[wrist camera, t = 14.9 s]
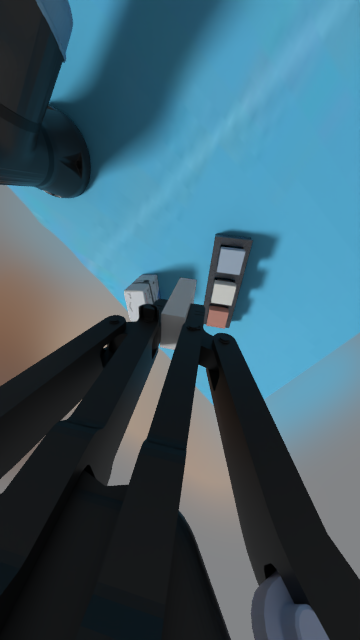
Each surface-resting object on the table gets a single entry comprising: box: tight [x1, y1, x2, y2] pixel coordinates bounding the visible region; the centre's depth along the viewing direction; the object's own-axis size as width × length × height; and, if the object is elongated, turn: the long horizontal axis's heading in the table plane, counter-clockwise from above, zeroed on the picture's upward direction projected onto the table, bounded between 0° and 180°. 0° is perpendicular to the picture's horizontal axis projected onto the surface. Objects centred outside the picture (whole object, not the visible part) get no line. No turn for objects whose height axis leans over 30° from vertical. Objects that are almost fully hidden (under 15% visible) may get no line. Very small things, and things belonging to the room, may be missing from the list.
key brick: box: [207, 304, 229, 328], centre depth 50 cm, size 5×5×5 cm
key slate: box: [217, 247, 245, 275], centre depth 41 cm, size 5×5×5 cm
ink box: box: [124, 275, 160, 322], centre depth 49 cm, size 8×5×12 cm, turn 4°
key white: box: [211, 279, 236, 306], centre depth 45 cm, size 5×5×5 cm
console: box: [204, 234, 253, 328], centre depth 48 cm, size 23×8×4 cm, turn 175°
